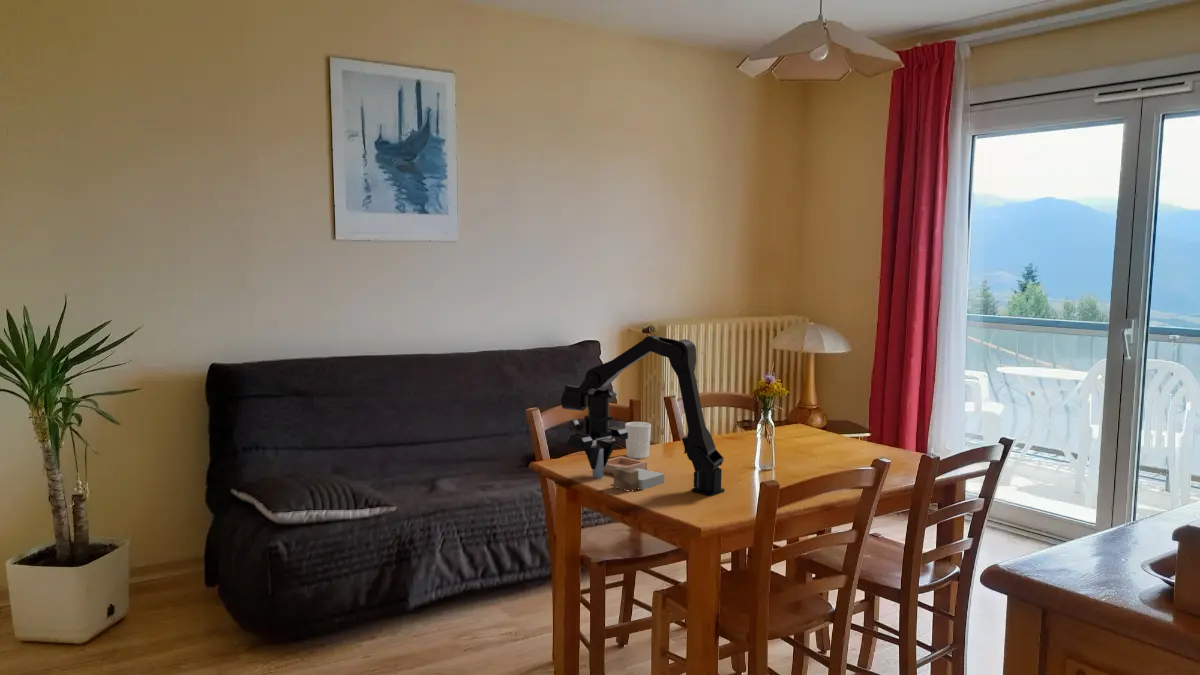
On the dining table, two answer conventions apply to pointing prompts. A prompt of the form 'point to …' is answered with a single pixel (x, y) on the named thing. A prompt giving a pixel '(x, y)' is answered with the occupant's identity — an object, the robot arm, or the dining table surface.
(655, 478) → the flat grey square block
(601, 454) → the dowel
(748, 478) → the dining table surface
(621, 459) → the tray
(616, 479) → the block
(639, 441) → the white cup
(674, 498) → the dining table surface
